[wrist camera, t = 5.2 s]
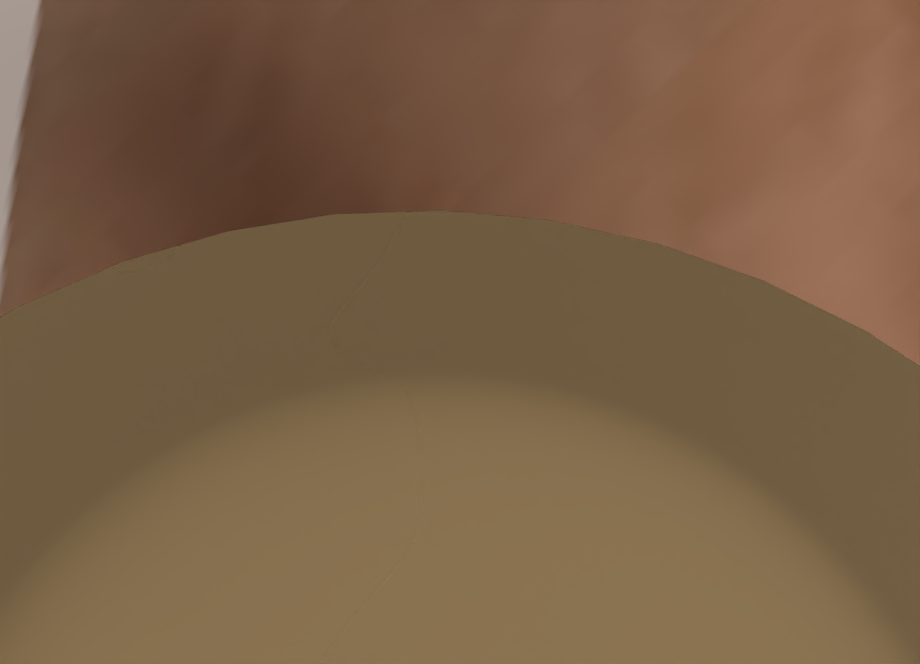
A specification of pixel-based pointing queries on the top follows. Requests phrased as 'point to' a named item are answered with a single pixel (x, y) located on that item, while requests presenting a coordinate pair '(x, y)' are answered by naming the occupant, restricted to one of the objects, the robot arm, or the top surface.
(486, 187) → the top surface
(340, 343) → the gold cylinder peg
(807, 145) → the top surface
